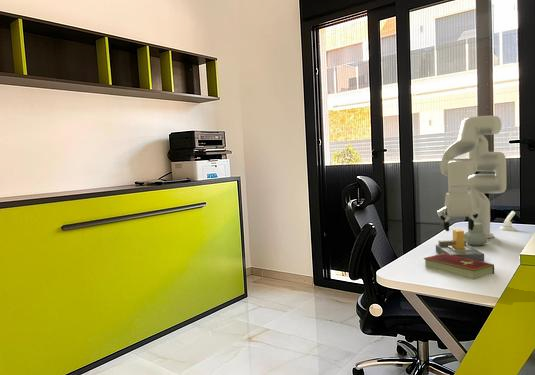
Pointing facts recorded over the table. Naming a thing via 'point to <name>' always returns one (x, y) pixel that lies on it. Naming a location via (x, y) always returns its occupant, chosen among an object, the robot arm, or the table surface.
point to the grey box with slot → (467, 252)
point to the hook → (508, 223)
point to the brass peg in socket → (458, 239)
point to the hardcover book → (459, 266)
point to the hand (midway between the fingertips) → (458, 230)
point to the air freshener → (475, 235)
